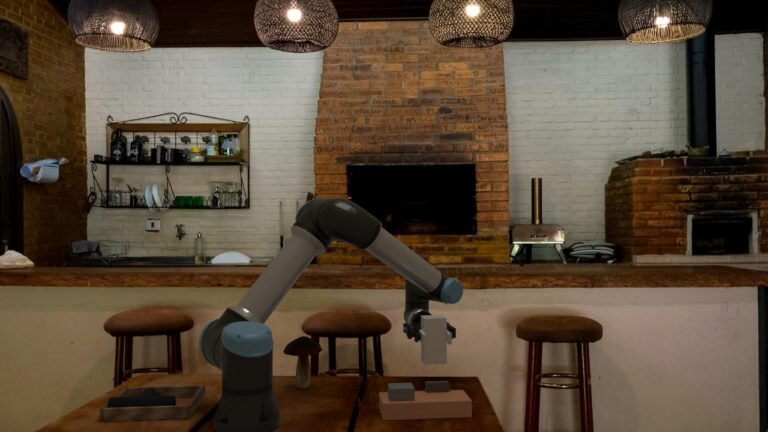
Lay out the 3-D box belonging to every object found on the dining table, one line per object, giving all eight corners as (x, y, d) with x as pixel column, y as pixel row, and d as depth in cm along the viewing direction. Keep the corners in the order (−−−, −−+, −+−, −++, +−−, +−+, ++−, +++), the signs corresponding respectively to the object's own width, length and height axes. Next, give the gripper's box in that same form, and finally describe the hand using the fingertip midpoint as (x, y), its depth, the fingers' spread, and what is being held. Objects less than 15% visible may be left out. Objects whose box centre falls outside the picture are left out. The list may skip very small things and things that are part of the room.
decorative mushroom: (308, 396, 157) (308, 341, 157) (275, 391, 162) (275, 338, 162) (329, 386, 167) (329, 334, 167) (298, 381, 172) (298, 331, 172)
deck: (382, 420, 139) (382, 391, 139) (376, 399, 155) (376, 373, 155) (471, 417, 141) (471, 388, 141) (456, 396, 157) (456, 371, 157)
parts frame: (99, 421, 138) (99, 409, 138) (125, 398, 156) (125, 387, 156) (189, 418, 140) (190, 406, 140) (205, 395, 158) (205, 385, 158)
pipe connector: (123, 385, 150) (182, 383, 152) (123, 405, 150) (182, 403, 152) (106, 400, 139) (170, 398, 140) (106, 422, 139) (170, 420, 141)
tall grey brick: (424, 364, 151) (424, 318, 151) (421, 359, 156) (421, 315, 156) (446, 363, 152) (446, 318, 152) (442, 359, 157) (442, 315, 157)
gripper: (453, 334, 173) (473, 353, 150) (390, 336, 171) (401, 355, 148) (453, 309, 173) (473, 324, 150) (390, 311, 171) (401, 326, 148)
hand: (437, 339), depth 149 cm, fingers closed on tall grey brick, 6 cm apart
